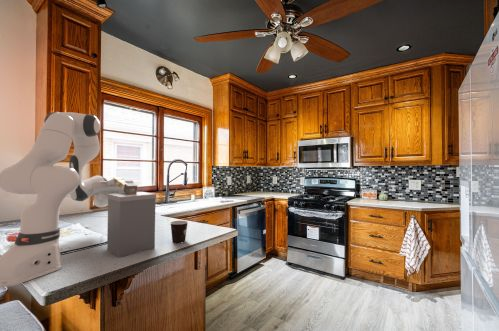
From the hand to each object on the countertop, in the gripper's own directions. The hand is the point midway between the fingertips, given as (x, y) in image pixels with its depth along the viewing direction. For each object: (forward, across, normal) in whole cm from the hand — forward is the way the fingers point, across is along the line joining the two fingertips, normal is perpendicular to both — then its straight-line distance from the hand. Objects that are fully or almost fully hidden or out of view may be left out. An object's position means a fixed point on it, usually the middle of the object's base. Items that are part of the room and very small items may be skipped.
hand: (118, 179), depth 126 cm
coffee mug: (+4, +20, +40) cm, 45 cm away
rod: (+4, 0, +6) cm, 7 cm away
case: (-1, 0, +36) cm, 36 cm away
